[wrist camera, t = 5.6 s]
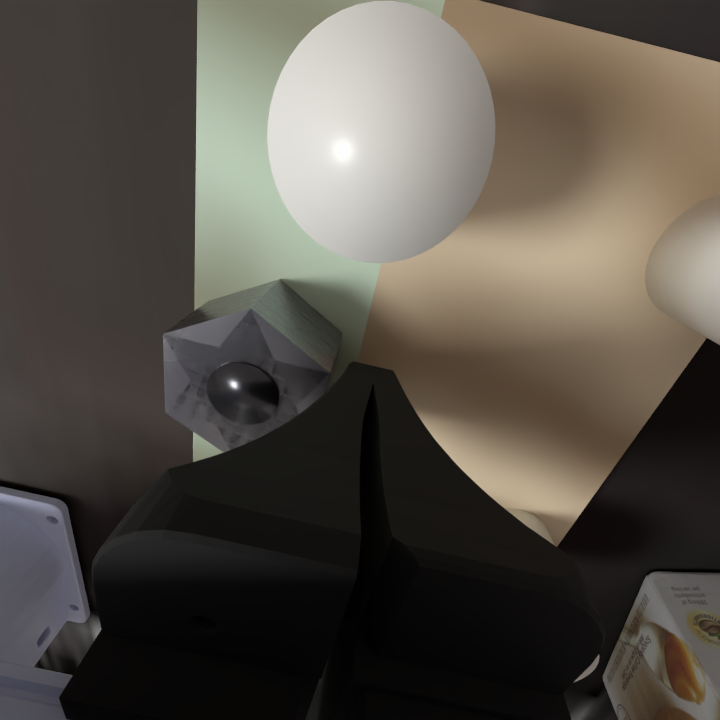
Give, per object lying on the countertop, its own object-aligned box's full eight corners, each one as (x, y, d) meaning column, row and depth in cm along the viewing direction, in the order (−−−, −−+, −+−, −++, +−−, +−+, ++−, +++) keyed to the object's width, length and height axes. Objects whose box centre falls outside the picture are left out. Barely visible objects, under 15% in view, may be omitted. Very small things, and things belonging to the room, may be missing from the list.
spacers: (545, 585, 16) (589, 710, 12) (214, 512, 15) (159, 618, 12) (847, 183, 8) (1173, 199, 5) (238, 30, 8) (116, -73, 5)
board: (511, 578, 17) (517, 601, 16) (203, 510, 17) (192, 530, 16) (826, 108, 9) (875, 102, 8) (219, -48, 8) (198, -72, 7)
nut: (322, 425, 13) (307, 479, 11) (204, 398, 13) (164, 447, 10) (350, 295, 11) (339, 330, 8) (209, 261, 10) (159, 288, 8)
